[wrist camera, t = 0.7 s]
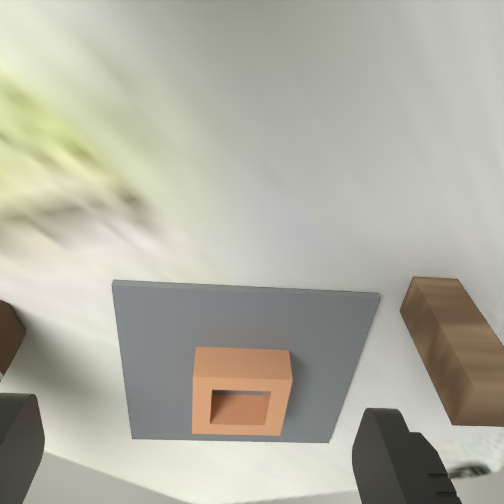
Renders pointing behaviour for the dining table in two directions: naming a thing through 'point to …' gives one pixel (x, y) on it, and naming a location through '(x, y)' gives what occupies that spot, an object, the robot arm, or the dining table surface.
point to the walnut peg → (457, 350)
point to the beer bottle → (9, 336)
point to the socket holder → (237, 359)
